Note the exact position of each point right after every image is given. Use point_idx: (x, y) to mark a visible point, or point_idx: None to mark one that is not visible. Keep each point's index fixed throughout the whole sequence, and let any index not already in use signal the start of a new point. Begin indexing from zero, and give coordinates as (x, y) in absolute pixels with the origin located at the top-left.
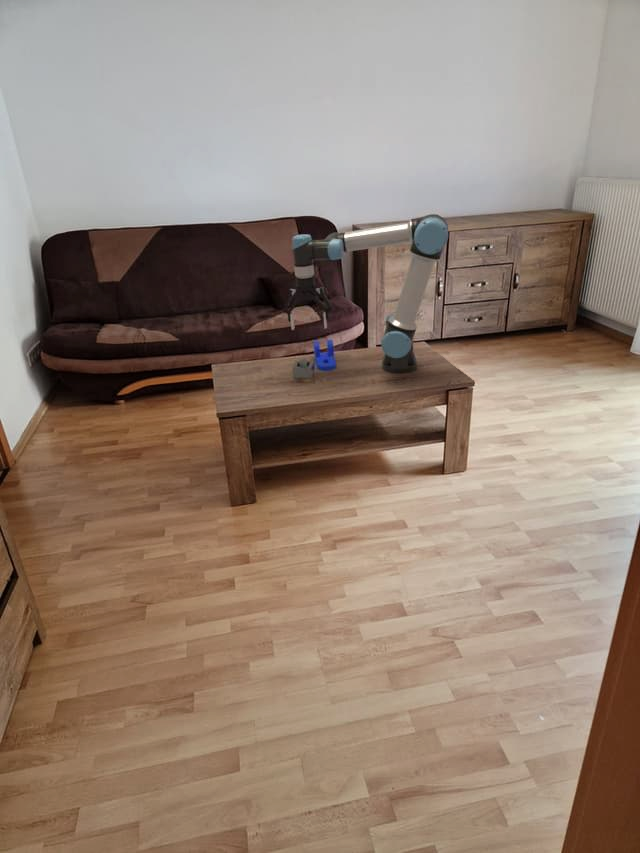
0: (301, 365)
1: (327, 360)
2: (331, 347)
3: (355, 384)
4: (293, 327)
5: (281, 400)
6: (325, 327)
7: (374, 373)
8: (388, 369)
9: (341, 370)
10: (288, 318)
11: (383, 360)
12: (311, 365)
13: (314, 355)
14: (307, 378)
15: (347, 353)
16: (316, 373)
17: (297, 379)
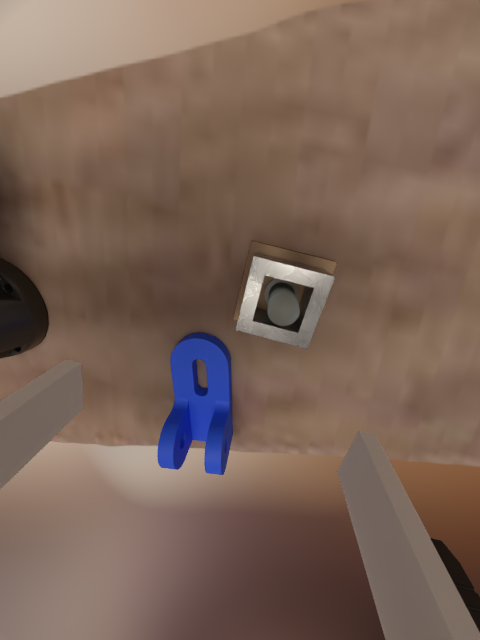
0: (291, 293)
1: (196, 390)
2: (169, 428)
3: (115, 190)
4: (363, 453)
5: (411, 61)
6: (65, 366)
7: (64, 274)
8: (18, 276)
9: (160, 323)
10: (475, 600)
11: (18, 313)
12: (250, 282)
13: (231, 439)
14: (273, 256)
15: (144, 433)
16: (237, 302)
17: (310, 260)
